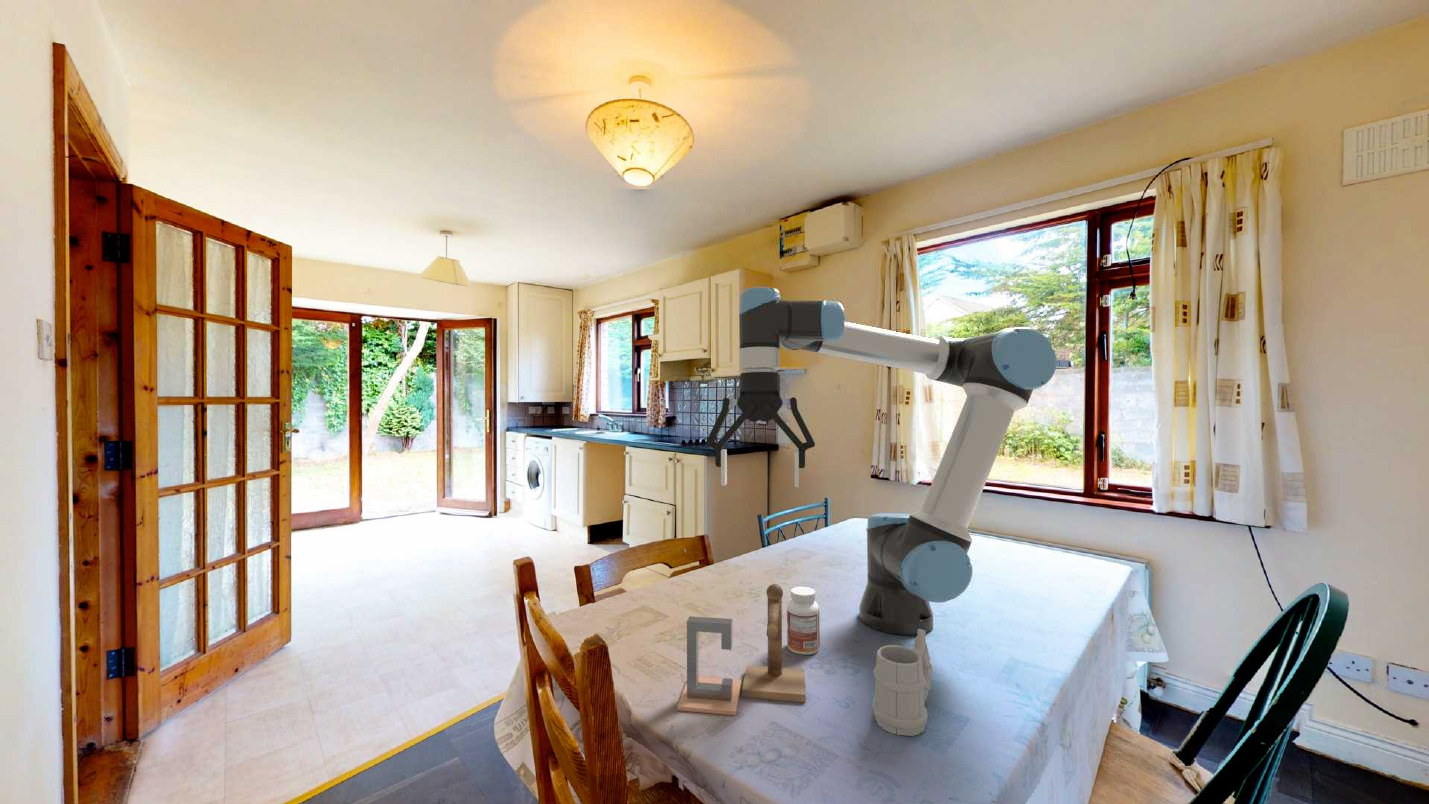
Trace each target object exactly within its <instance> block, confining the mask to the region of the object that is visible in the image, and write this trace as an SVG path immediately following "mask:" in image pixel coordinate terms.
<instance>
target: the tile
mask: <svg viewBox="0 0 1429 804" xmlns="http://www.w3.org/2000/svg"><path fill="white" fill-rule="evenodd" d="M722 681H723V678H717V677H703V676H699V682H701V683H714V684H722ZM742 681H743V680H741V679H733V695H732V700H731V701H720V700H708V699H696V698H687V681H686V683H685V684H684V685H685V686H684V688H683V691H682V693H681V694H680V695H681V696H680V699H679V700H678V704H676V705H677V706H676V710H677V711H681V712H694V713H703V714H704V713H707V714H717V715H726V716H727V715H728V716H736V714H737V709H738V705H739V700H740V693H741V690H742V685H743V682H742Z"/></svg>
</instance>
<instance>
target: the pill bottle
mask: <svg viewBox="0 0 1429 804" xmlns="http://www.w3.org/2000/svg"><path fill="white" fill-rule="evenodd" d="M790 598H791V600H789V601H788V602H787V605H786V606H787V607H786V627H787V628H786V631H787V632H786V633H787V634H786V638H787V639H786V643H787V647H788V649H789V650H790V651H791V652H792V653H794V654H797V655H802V656H803V655H805V656H807V655H808V656H809V655H814V654H816V653H817V652H818V651H819V650H820V644H821V642H820V640H821V639H820V634H821V633H820V605H819V604H818V602H816V601H815V600H816V598H817V597H816V590H815V589H814V588H811V587H808V586H795V587H793V588H791V590H790Z"/></svg>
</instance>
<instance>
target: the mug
mask: <svg viewBox="0 0 1429 804" xmlns="http://www.w3.org/2000/svg"><path fill="white" fill-rule="evenodd" d="M917 633H918V634H917V635H916V637H915V638H914V645H913V647H912V648H909V647H906V646H902V645H895V644H894V645H893V644H891V645H890V644H888V645H884V646H881V647H880V648H879V649H878V650H877V651H876V662H875V663H876V664H875V665H876V666H875V667H874V669H873V676H874V680H875V689H874V691H875V692H874V699H873V700H872V703H871V704H872V711H873V714H874V720H875V721H876V724H877V725H878V726H879V727H880V728H881V729H882V730H884V731H886V732H888V733H890V734H893V735H897V736H907V737H913V736H918V735H920V734H921V733H923V732H924V731H925V727H926V724H927V722H928V717H929V715H928V710H927V708H926V706H925V701H927V698H928V694H929V691H931V688H932V687H931V685H932V678H931V676H932V674H933V666H932V664H931V661H930V659H931V656H930V654H929V648H928V644H927V641H926V633H927V632H926V631H925V630H922V629H918V631H917Z"/></svg>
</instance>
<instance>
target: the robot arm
mask: <svg viewBox="0 0 1429 804" xmlns="http://www.w3.org/2000/svg"><path fill="white" fill-rule="evenodd" d="M739 297H740V298H739V314H738V316H739V322H738V323H739V324H738V325H739V327H738V328H739V370H740V371H742V372H741V373H740V374H739V396H738V398H737V399H733V398H730V397H724V398H723V399H722V403H721V404H722V405H721V410H720V413H718V415H717V418H716V420H715V423H714V425H713V427H712V428H711V430H710V433H709V434H708V437H707V438H706V441H705V446H706V447H708V448H712V449H714V452H715V459H714V460H715V461H714V463H715V467H716V468H720V486H724V487H725V486H726V485H727V484H728V462H727V461H728V459H727V458H728V453H727V451H728V450H727V449H723V448H724V447H725V445H726V444H727V443H728V442H729V441H730V440H731V438H732V437H733V436H734V434H736V432H737V431H738V430H739V429H740V427H741V426H742V425H743V424H744V423H745V422H746V421H747V420H748V421H749V422H758V421H760V422H766V423H767V422H770V421H771V420H773V421H774V422H775V423H776V425H778V427H779V428H780V430H782V431H783V432H784V434H785V435H786V436H787V438H788V439H789V440H791V442H792V443H793V444H794V446H795V447H796V448H797V450H796V449H795V450H794V488H799V487H800V469H805V467H806V451H807V450H809V449H811V448H812V449H813V448H814V447H815V446H816V442H815V441H814V439H813V436H812V435H811V433H810V431H809V429H808V427H807V425H806V423H805V421H804V418H803V417H802V415H801V413H800V411H799V410H798V402H797V401H798V400H797V398H796V397H795V396H794V397H790V398H782V397H781V375H780V374H779V372H778V371H779V370H780V366H781V365H780V364H781V360H780V359H781V358H780V357H781V356H780V354H781V350H780V349H781V347H782V348H784V349H786V350H789V351H799V350H802V351H807V352H811V353H820V354H825V355H828V356H829V355H830V356H834V357H839V358H844V359H849V360H856V361H860V362H864V363H868V364H869V363H870V364H874V365H879V366H886V367H890V368H895V369H901V370H904V371H910V372H913V373H919V374H924V375H925V376H926V377H927V379H929V380H931V381H936V382H940V383H945V384H949V385H953V386H957V387H959V388H962V389H963V391H964V393H965V394H966V398H965V401H964V403H963V406H962V408H961V411H960V414H959V416H958V419H957V421H956V423H955V425H954V428H953V431H952V433H951V436H950V437H949V440H948V443H947V445H946V447H945V450H944V453H943V455H942V458H941V460H940V463H939V466H938V467H937V470H936V472H935V475H934V478H933V480H932V482H931V484H930V487H929V489H928V492H927V495H926V497H925V499H924V502H923V504H922V507H921V508H920V509H918V510H915V511H913V512H911V513H901V512H900V513H899V512H898V513H896V512H895V513H893V512H892V513H891V512H890V513H889V512H888V513H887V512H886V513H875V514H871V515H870V516H868V518H867V527H866V528H865V529H866V531H865V532H866V540H867V541H866V543H867V545H866V548H867V549H866V550H867V551H866V552H867V554H866V556H867V557H866V558H867V561H866V562H867V583H866V584H865V587H864V588H865V589H864V592H863V595H862V598H861V599H860V600H861V601H860V604H859V609H858V610H859V616H858V617H859V619H860V621H861V622H862V623H863V624H864V625H866V626H868V627H870V628H872V629H874V630H877V631H880V632H883V633H887V634H892V635H898V636H899V635H901V636H917V635H918V633H917V631H918V629H922V630H925V631H926V633H928V632H930V631H931V630H932V629H933V628H934V613H933V610H932V607H931V604H930V602H931V603H936V604H937V603H946V602H949V601H952V600H955V599H956V598H958V597H959V596H961V595H962V594H963V593H964V592H965V591H966V590H967V588H968V587H969V585H970V583H971V581H972V578H973V565H972V564H971V558H970V556H969V555H968V552H969V550H970V547H971V544H972V542H973V539H972V536H971V535H970V533H969V530H968V527H969V525H970V522H971V520H972V517H973V515H974V512H975V511H976V508H977V505H978V503H979V501H980V498H981V495H982V492H983V491H984V488H985V487H986V486H985V485H986V484H987V481H988V479H989V476H990V473H991V472H992V471H991V470H992V468H993V465H994V463H995V460H996V458H997V456H998V453H999V451H1000V448H1001V446H1002V443H1003V441H1004V439H1005V436H1006V433H1007V431H1008V428H1009V427H1010V425H1011V421H1012V419H1013V417H1014V414H1015V412H1017V411H1019V410H1022V409H1024V408H1026V407H1027V406H1028V403H1029V401H1030V399H1031V396H1032V394H1033V391H1034V390H1036V389H1039V388H1041V387H1043V386H1045V385H1046V384H1048V382H1049V381H1051V379H1052V378H1053V377H1054V375H1055V372H1056V368H1057V355H1056V351H1055V349H1054V348H1053V346H1052V342H1051V341H1050V340H1049V338H1047V336H1046V335H1045V334H1043V333H1042V332H1041V331H1039V330H1036V329H1034V328H1032V327H1026V326H1021V327H1006V328H1003V329H1001V330H1000V331H995V332H990V333H985V334H981V335H974V336H972V337H963V338H960V337H958V338H955V337H948V336H947V337H946V336H937V337H936V338H935V339H933V338H928V337H923V336H917V335H912V334H909V333H907V334H906V333H903V332H898V331H897V332H896V331H893V330H888V329H883V328H877V327H873V326H867V325H862V324H857V323H853V322H847V321H846V313H845V309H844V307H843V305H842V303H840V302H839V301H833V300H825V299H822V300H785V299H781V295H780V291H779V289H777V288H774V287H768V286H757V287H749V288H746V289H744V290H743V292H741V293H740V296H739ZM780 346H781V347H780ZM783 405H784V406H785V407H786V409H787V410H790V412H791V414H792V416H793V418H794V419H795V422H796V423H797V424H796V425H797V426H798V427H799V429H800V431H801V433H802V434H803V435H802V436H803V437H804V439H805V441H806V442H803V441H802V440H801V439H800V438H799V436H798V435H796V434H795V432H794V431H793V430H792V429H791V428H790V426H789V425H788V424H787V423H786V422H785V421H784V420H783V418H782V417H781V416H780V414H779V413H778V412H779V410H780V409H781V407H782V406H783ZM735 406H737V407H738V408H739V410H740V411H741V414H740V415H739V416H738V418H737V419H736V420H735V421H734V422H733V423H732V425H730V427H729V428H728V430H727V431H725V433H724V434H723V436H722V437H721V438H720V439H719V440H718V441H716V440H717V437H718V435H719V433H720V432H721V429H722V428H723V426H724V423H725V421H726V420H727V417H728V415H729V413H730V411H731V410H733V409H734V408H735Z"/></svg>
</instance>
